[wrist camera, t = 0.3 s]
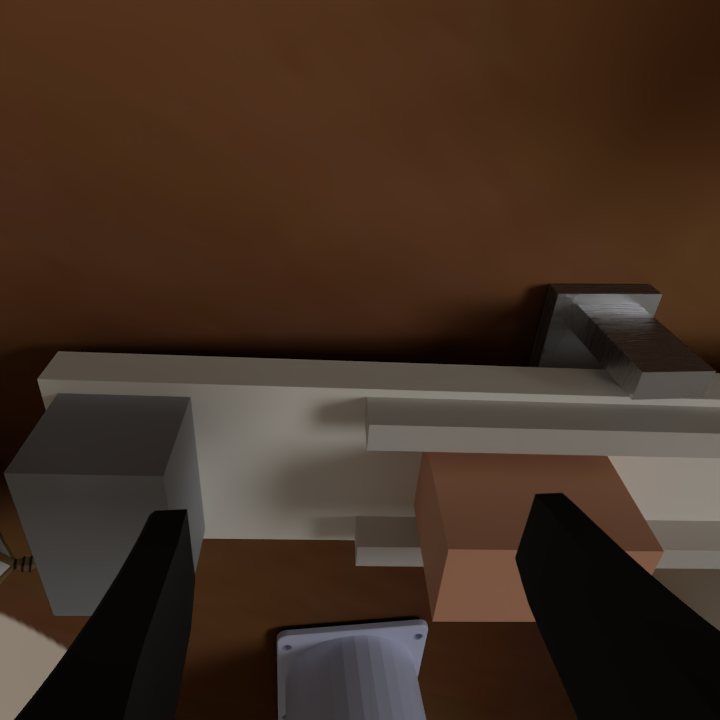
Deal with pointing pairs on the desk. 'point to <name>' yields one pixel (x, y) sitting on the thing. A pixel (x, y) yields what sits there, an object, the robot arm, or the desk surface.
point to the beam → (325, 453)
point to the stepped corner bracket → (618, 340)
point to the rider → (508, 524)
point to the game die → (12, 561)
